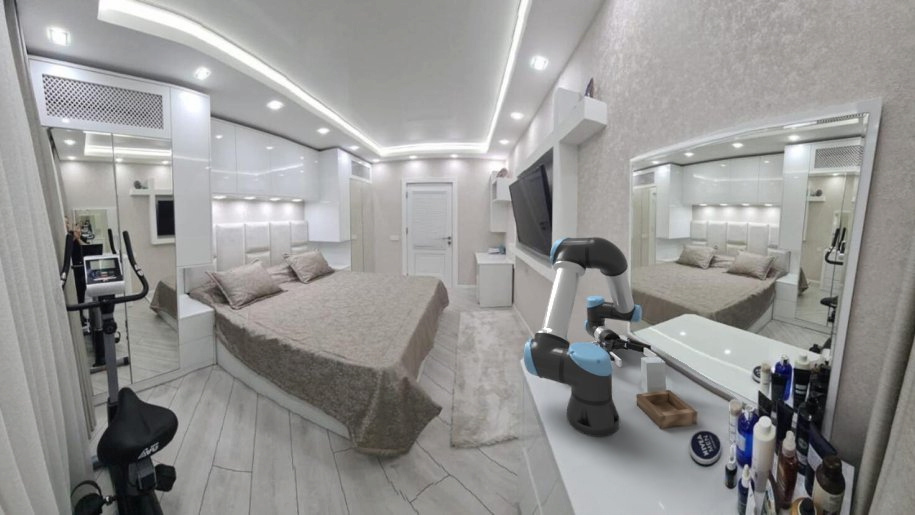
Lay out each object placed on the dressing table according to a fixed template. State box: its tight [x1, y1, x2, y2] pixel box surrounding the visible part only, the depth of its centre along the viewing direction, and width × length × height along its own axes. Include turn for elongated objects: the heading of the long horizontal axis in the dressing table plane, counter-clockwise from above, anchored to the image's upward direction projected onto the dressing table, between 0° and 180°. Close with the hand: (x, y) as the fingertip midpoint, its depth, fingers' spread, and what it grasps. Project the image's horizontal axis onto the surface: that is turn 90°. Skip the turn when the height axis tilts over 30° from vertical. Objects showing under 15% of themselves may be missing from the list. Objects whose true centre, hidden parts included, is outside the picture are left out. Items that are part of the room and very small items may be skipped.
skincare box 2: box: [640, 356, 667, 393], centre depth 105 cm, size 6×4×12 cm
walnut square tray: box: [636, 389, 698, 430], centre depth 95 cm, size 11×11×4 cm
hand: (638, 361), depth 113 cm, fingers open, 13 cm apart
